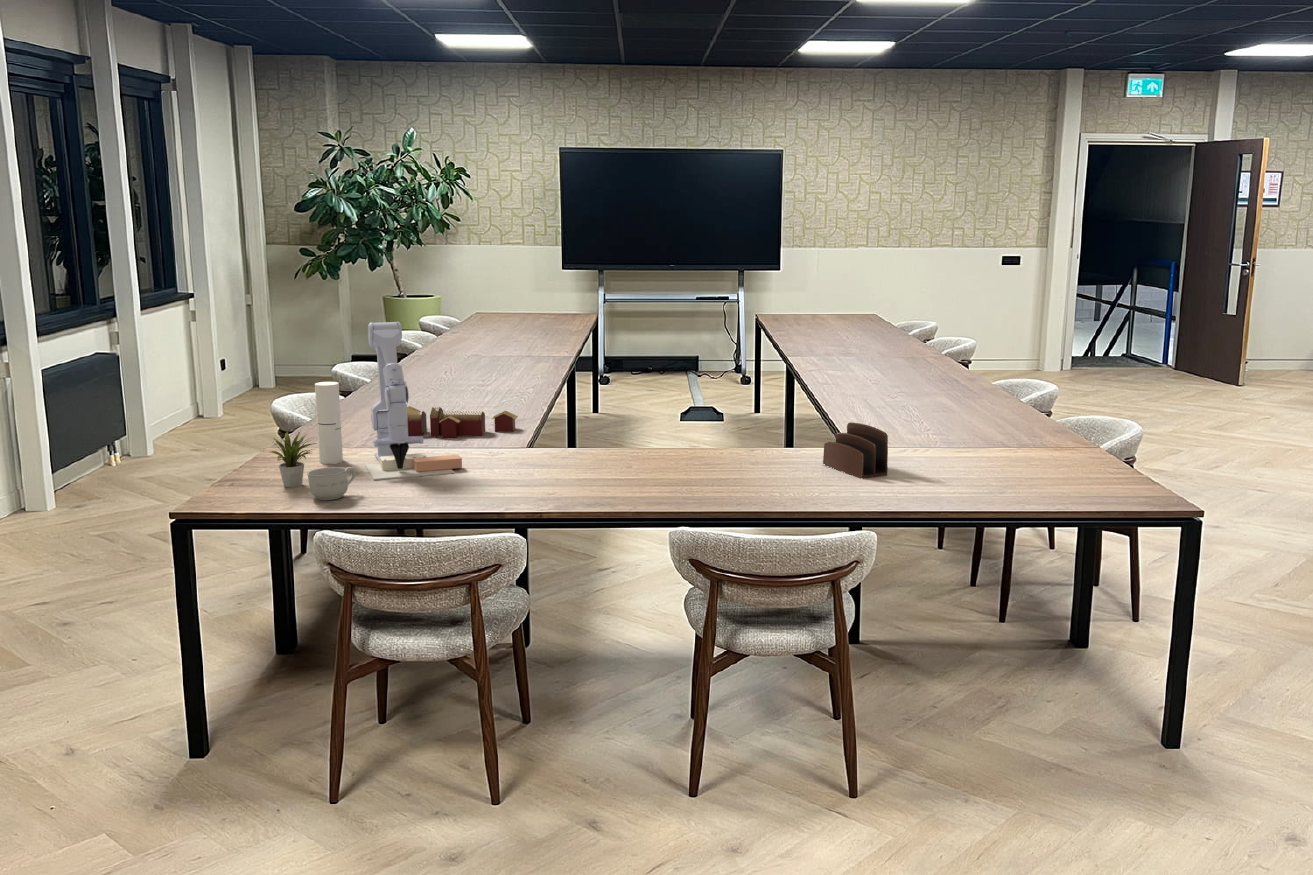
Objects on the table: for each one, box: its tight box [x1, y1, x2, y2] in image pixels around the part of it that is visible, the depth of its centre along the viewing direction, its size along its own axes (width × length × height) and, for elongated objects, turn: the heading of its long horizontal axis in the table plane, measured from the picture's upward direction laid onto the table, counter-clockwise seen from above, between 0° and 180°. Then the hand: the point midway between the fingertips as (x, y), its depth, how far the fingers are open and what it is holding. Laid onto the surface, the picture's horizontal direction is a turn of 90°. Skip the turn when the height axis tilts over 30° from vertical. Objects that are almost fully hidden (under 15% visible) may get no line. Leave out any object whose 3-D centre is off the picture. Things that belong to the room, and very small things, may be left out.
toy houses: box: [407, 405, 518, 439], centre depth 402 cm, size 45×20×10 cm, turn 89°
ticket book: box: [378, 452, 429, 470], centre depth 351 cm, size 6×14×3 cm, turn 112°
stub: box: [413, 453, 463, 472], centre depth 349 cm, size 6×14×3 cm, turn 112°
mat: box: [364, 463, 455, 481], centre depth 349 cm, size 19×24×1 cm
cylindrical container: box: [314, 381, 344, 465], centre depth 357 cm, size 7×7×25 cm
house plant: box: [269, 430, 318, 489], centre depth 327 cm, size 14×14×16 cm
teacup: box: [307, 466, 357, 501], centre depth 317 cm, size 14×11×8 cm
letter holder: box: [822, 422, 889, 479], centre depth 350 cm, size 10×20×14 cm, turn 28°
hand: (400, 468), depth 345 cm, fingers closed
